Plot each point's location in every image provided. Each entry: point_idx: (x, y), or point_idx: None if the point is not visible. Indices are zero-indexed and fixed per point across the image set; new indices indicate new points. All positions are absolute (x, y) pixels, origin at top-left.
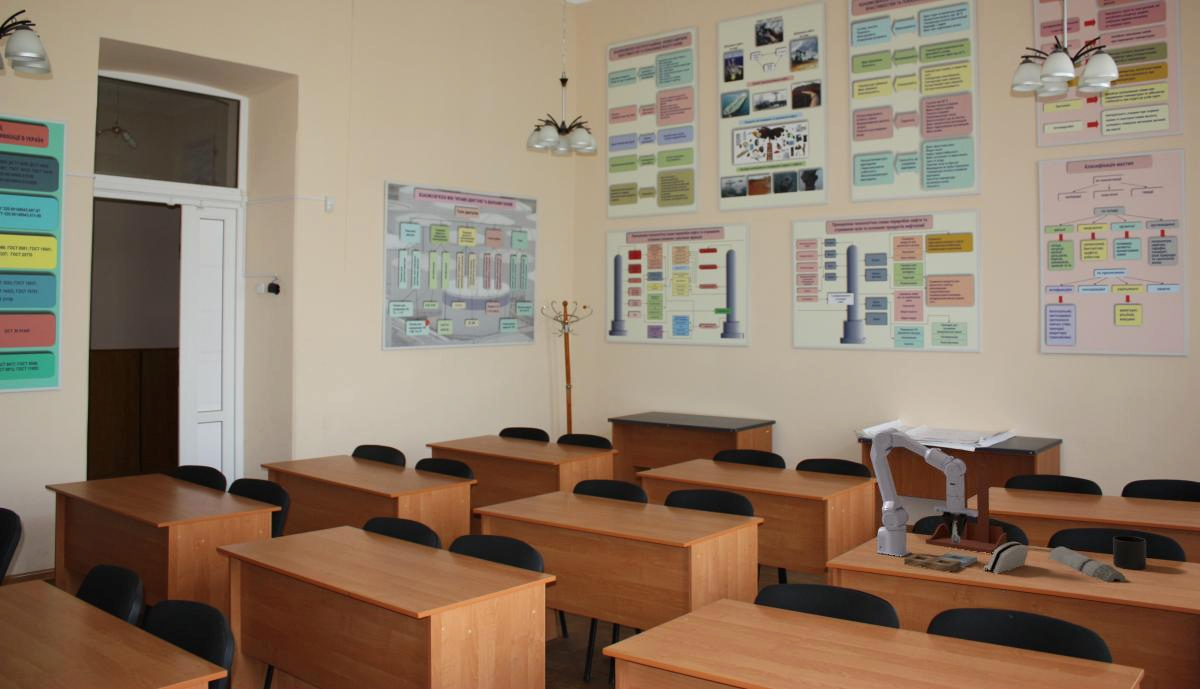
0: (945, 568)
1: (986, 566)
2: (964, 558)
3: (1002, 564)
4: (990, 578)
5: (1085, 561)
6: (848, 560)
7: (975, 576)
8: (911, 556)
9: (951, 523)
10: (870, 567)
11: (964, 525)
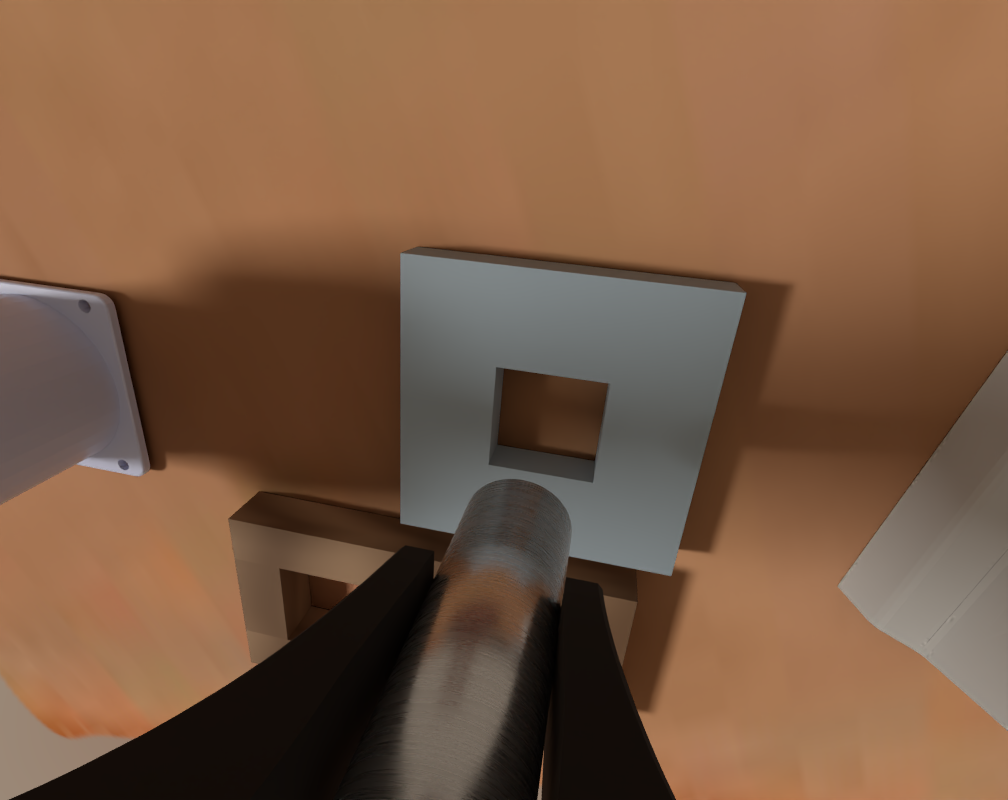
0: None
1: (894, 634)
2: (628, 429)
3: None
4: (918, 757)
5: None
6: (23, 651)
7: (795, 741)
8: (253, 596)
9: (333, 786)
10: None
11: (641, 772)
